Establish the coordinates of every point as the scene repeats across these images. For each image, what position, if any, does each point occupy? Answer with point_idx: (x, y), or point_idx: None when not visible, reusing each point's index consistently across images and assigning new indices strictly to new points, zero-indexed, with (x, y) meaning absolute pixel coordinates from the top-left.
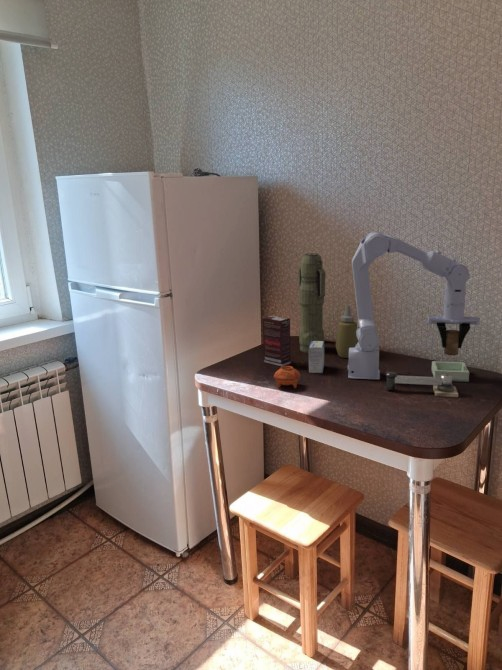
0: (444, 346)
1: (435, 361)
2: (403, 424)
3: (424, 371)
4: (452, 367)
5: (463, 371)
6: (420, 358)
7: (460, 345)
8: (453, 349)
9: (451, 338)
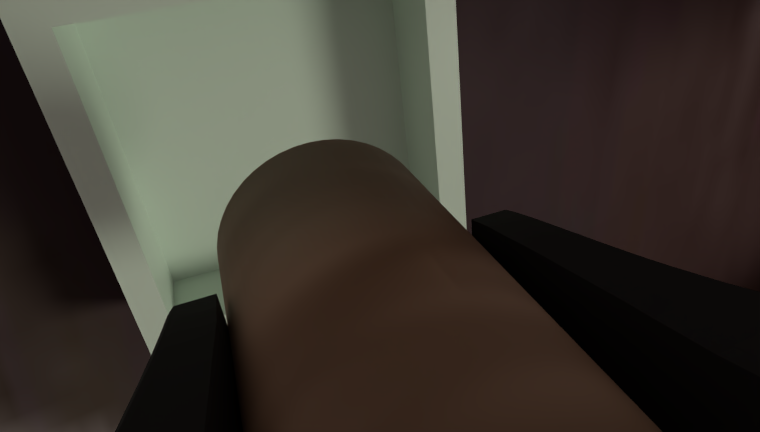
0: (497, 219)
1: None
2: None
3: (485, 170)
4: None
5: (86, 10)
6: None
7: (185, 328)
8: (314, 193)
9: (482, 327)
